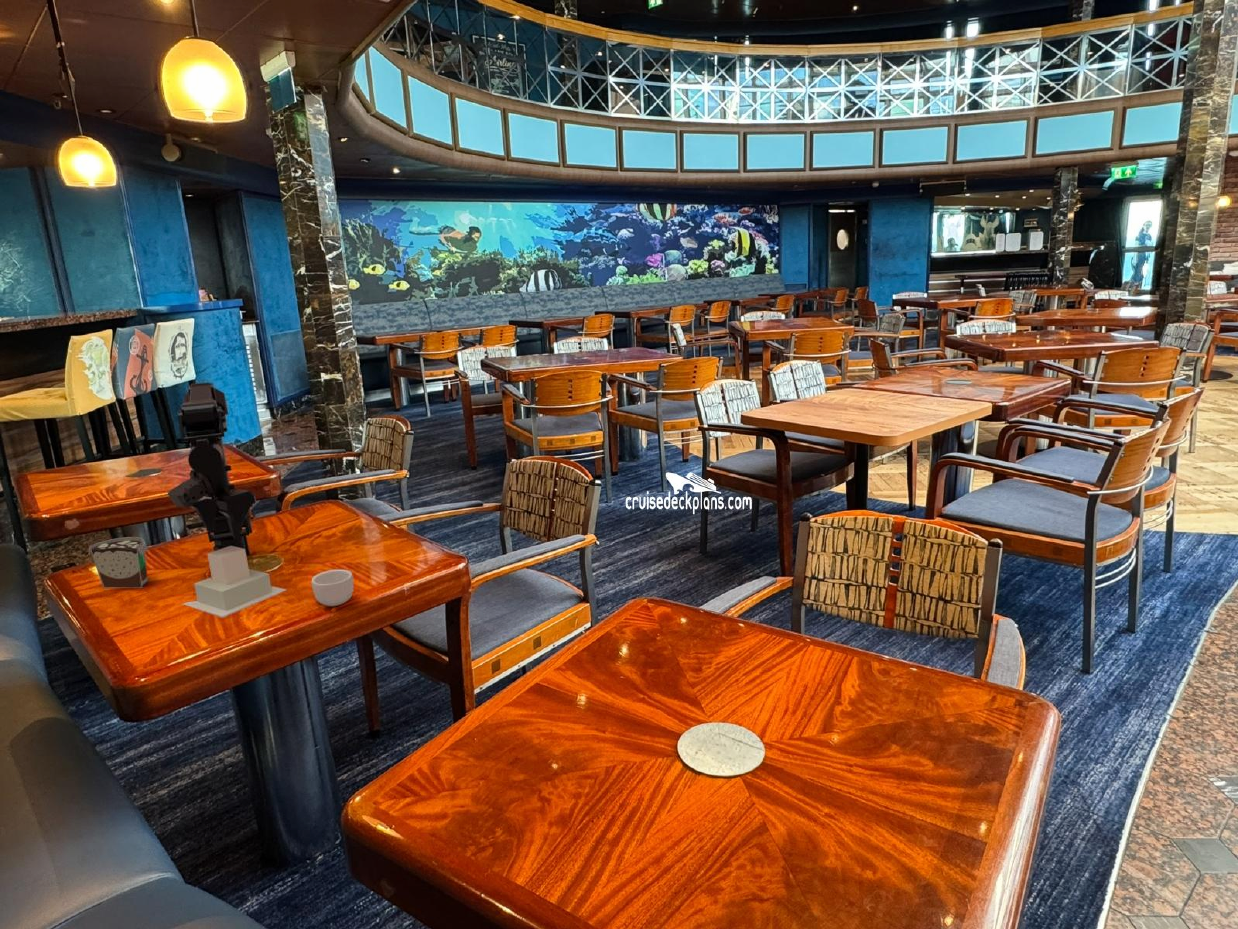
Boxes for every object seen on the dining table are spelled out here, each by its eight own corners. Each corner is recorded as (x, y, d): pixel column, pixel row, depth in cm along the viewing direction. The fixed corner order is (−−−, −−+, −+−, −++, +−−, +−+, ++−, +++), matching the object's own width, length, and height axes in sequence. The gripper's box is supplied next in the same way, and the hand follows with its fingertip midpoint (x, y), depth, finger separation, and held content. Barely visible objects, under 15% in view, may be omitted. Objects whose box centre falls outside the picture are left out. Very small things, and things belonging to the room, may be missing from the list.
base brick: (243, 584, 159) (240, 566, 158) (272, 591, 153) (268, 573, 153) (197, 601, 150) (194, 583, 149) (226, 610, 145) (222, 591, 144)
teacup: (363, 599, 150) (360, 574, 148) (329, 613, 144) (325, 588, 143) (335, 588, 156) (332, 564, 154) (301, 601, 150) (297, 577, 148)
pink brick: (235, 572, 154) (230, 545, 153) (250, 576, 152) (244, 549, 150) (212, 581, 150) (207, 553, 149) (226, 585, 148) (221, 557, 146)
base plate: (247, 583, 161) (246, 579, 161) (287, 594, 154) (286, 589, 154) (183, 608, 150) (182, 604, 150) (223, 621, 143) (222, 616, 143)
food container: (167, 577, 168) (158, 535, 165) (148, 588, 162) (139, 545, 160) (118, 577, 169) (108, 536, 167) (97, 588, 163) (86, 546, 161)
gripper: (144, 468, 150) (160, 540, 154) (196, 477, 140) (212, 554, 144) (198, 455, 159) (212, 523, 163) (250, 463, 149) (263, 536, 153)
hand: (223, 534), depth 156 cm, fingers open, 9 cm apart
